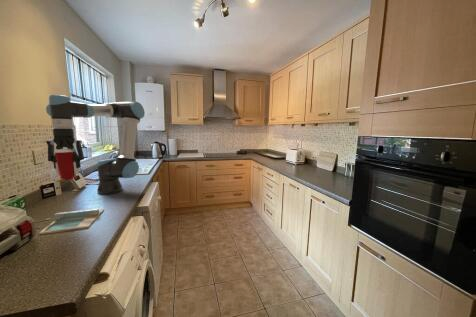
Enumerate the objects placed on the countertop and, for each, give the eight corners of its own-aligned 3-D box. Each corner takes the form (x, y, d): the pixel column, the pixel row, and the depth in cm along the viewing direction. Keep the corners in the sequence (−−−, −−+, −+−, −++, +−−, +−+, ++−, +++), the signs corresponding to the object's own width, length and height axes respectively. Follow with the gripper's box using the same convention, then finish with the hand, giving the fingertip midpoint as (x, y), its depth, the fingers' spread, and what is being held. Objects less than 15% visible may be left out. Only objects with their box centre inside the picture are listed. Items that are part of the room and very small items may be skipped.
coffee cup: (83, 177, 103) (79, 148, 100) (65, 181, 95) (61, 149, 93) (71, 176, 105) (67, 147, 103) (53, 179, 97) (48, 149, 95)
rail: (57, 218, 98) (56, 213, 98) (99, 214, 103) (98, 208, 103) (55, 220, 97) (54, 214, 96) (98, 215, 102) (97, 209, 101)
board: (64, 214, 104) (64, 213, 104) (103, 210, 109) (103, 209, 109) (39, 234, 85) (38, 232, 85) (88, 228, 90) (87, 226, 90)
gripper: (32, 128, 90) (39, 177, 94) (82, 128, 95) (87, 175, 98) (43, 128, 98) (49, 174, 101) (89, 128, 103) (94, 172, 106)
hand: (68, 174), depth 100 cm, fingers closed on coffee cup, 7 cm apart
